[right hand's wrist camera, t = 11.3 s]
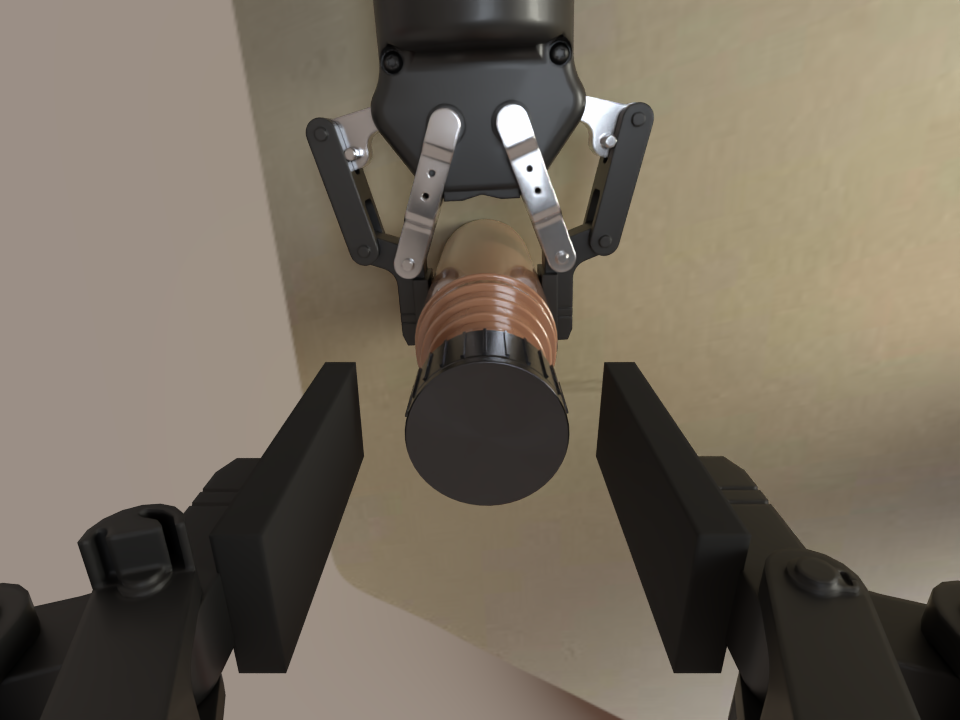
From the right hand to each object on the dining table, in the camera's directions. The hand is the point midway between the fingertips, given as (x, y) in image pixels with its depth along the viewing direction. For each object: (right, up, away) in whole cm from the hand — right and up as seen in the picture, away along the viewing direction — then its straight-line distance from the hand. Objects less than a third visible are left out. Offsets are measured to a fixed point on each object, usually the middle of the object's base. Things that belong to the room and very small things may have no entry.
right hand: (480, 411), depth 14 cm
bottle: (0, +7, +17) cm, 18 cm away
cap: (0, 0, -1) cm, 1 cm away
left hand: (0, +2, +12) cm, 12 cm away
